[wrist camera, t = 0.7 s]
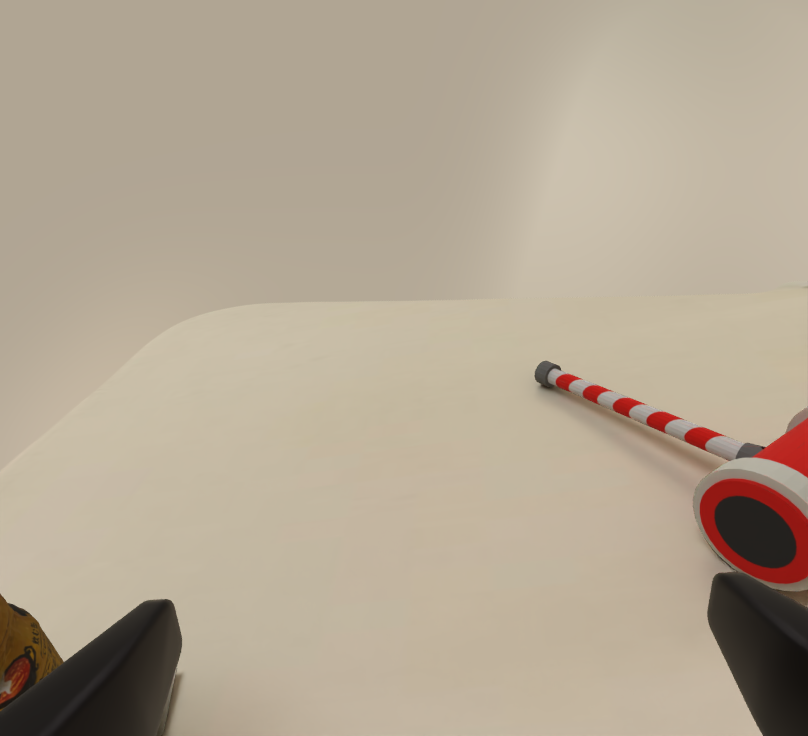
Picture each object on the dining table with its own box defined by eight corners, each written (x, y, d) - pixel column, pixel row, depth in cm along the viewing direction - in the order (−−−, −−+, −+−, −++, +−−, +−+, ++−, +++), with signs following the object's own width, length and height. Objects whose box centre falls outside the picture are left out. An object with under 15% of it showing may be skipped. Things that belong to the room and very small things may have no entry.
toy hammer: (487, 405, 42) (490, 334, 39) (587, 361, 47) (596, 295, 44) (804, 621, 25) (854, 526, 22) (904, 514, 30) (957, 425, 27)
